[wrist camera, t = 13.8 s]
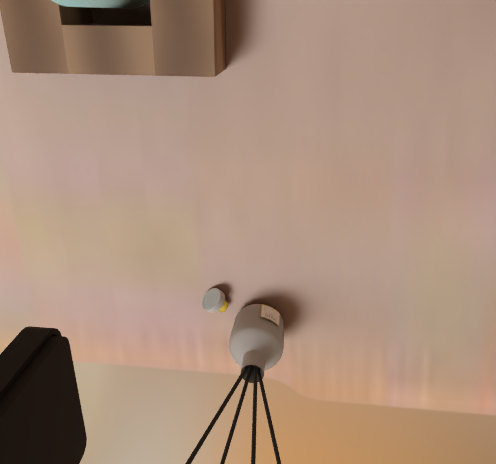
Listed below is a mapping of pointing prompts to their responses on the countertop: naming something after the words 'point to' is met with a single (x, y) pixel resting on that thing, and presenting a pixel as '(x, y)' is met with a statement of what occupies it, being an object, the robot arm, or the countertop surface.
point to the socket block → (116, 39)
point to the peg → (102, 3)
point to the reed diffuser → (248, 358)
